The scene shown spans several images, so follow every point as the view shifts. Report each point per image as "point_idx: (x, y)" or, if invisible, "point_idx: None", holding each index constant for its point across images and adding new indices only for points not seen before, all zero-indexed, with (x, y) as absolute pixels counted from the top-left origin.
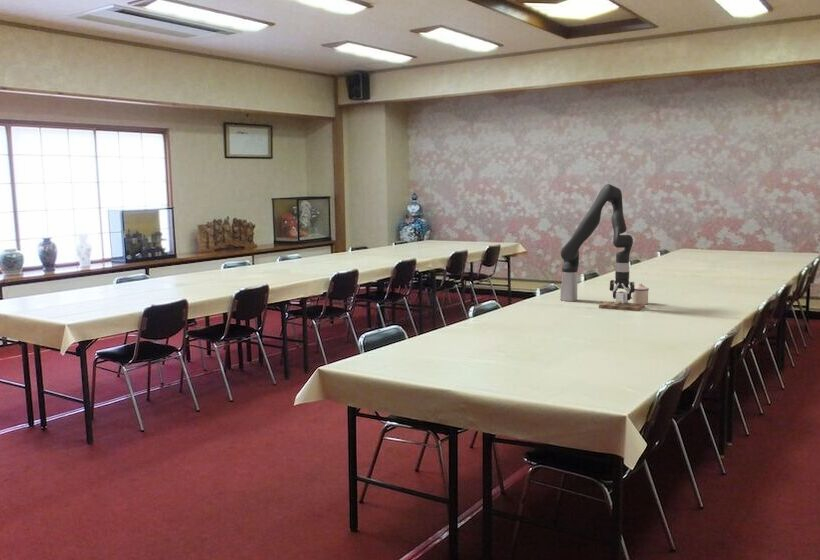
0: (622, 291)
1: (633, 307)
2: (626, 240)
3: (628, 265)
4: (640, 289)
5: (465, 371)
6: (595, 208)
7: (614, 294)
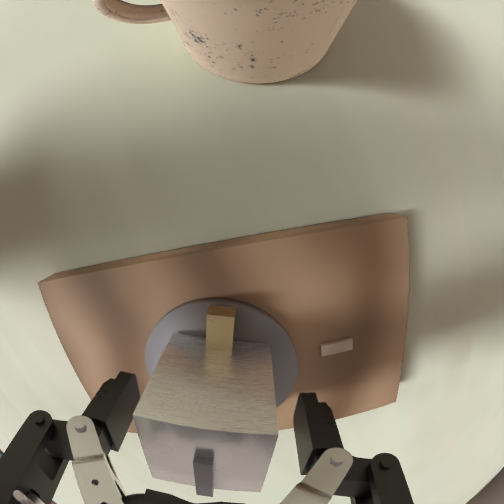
0: (201, 464)
1: (359, 411)
2: None
3: None
4: None
5: None
6: None
7: (123, 432)
